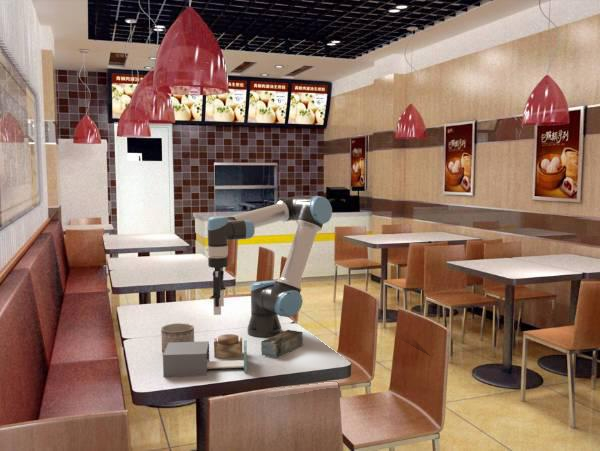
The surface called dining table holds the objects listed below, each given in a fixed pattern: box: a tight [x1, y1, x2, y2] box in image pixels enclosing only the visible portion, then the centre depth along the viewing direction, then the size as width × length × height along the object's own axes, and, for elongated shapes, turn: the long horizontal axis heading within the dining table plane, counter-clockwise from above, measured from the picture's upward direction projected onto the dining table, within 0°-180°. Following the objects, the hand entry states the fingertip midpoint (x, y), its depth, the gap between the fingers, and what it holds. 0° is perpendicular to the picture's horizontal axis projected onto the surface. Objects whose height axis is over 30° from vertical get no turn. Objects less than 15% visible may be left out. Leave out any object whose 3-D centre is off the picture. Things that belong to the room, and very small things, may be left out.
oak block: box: [213, 337, 243, 358], centre depth 222 cm, size 11×5×6 cm, turn 95°
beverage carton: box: [260, 329, 304, 359], centre depth 228 cm, size 8×19×7 cm, turn 147°
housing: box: [162, 340, 210, 378], centre depth 207 cm, size 15×15×8 cm
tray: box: [207, 339, 248, 373], centre depth 208 cm, size 15×14×7 cm
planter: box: [160, 322, 195, 354], centre depth 225 cm, size 13×13×10 cm
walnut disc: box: [217, 333, 240, 345], centre depth 222 cm, size 8×8×2 cm
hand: (218, 310), depth 222 cm, fingers open, 13 cm apart
